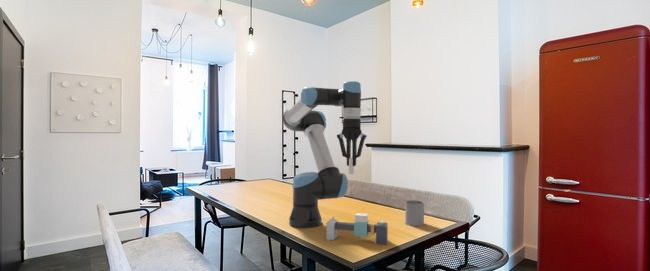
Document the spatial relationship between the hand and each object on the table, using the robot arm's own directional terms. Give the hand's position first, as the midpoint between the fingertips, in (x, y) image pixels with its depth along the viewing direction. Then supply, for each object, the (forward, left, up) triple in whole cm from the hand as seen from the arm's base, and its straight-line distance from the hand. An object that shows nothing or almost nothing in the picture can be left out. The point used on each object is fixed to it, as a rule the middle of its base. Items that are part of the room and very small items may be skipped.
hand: (351, 173), depth 137 cm
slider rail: (+4, -9, -25) cm, 27 cm away
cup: (+26, +20, -25) cm, 42 cm away
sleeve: (+6, -9, -23) cm, 25 cm away
